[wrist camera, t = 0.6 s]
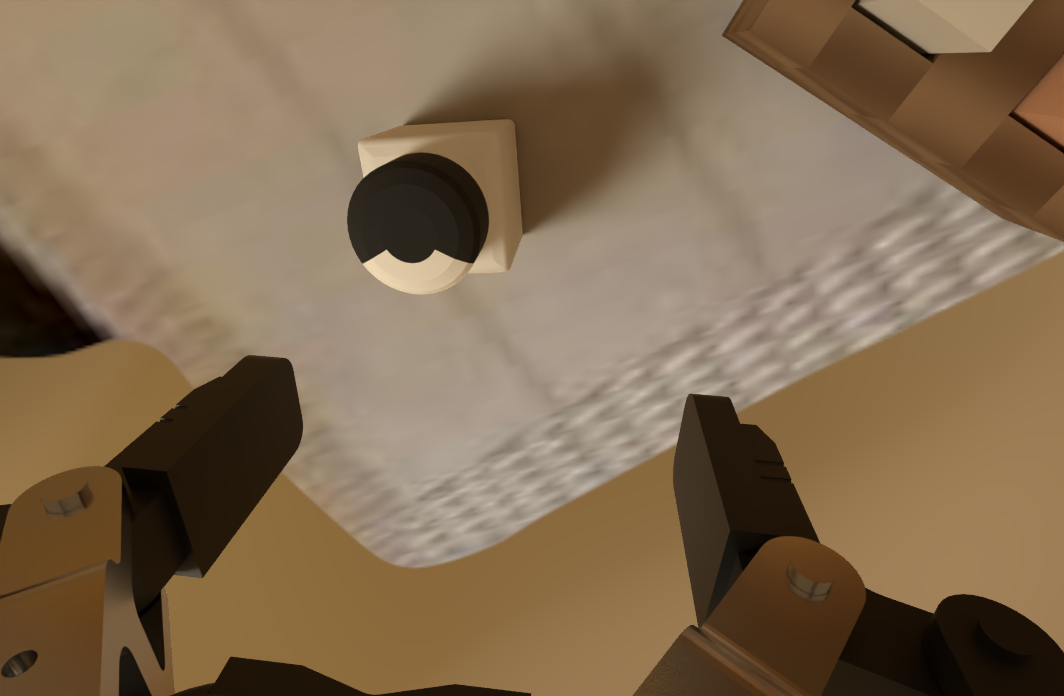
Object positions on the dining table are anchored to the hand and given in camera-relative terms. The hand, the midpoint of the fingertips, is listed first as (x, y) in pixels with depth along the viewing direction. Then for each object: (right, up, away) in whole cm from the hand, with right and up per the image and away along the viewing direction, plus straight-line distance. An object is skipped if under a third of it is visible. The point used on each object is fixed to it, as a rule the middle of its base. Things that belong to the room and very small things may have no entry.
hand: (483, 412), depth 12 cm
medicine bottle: (-3, +12, +24) cm, 27 cm away
